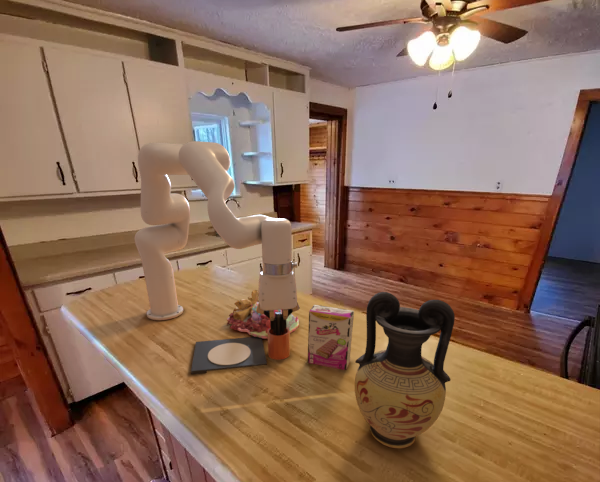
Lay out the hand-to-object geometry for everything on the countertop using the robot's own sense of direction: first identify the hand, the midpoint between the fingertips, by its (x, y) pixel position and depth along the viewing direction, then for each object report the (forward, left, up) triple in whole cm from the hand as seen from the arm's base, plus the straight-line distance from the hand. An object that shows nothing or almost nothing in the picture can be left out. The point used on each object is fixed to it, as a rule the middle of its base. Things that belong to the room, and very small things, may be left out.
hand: (278, 330), depth 94 cm
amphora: (+34, +19, -8) cm, 40 cm away
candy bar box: (+7, +13, -8) cm, 17 cm away
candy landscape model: (-22, -2, -8) cm, 23 cm away
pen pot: (0, 0, -8) cm, 8 cm away
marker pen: (0, 0, -8) cm, 8 cm away
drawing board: (-3, -14, -8) cm, 16 cm away
